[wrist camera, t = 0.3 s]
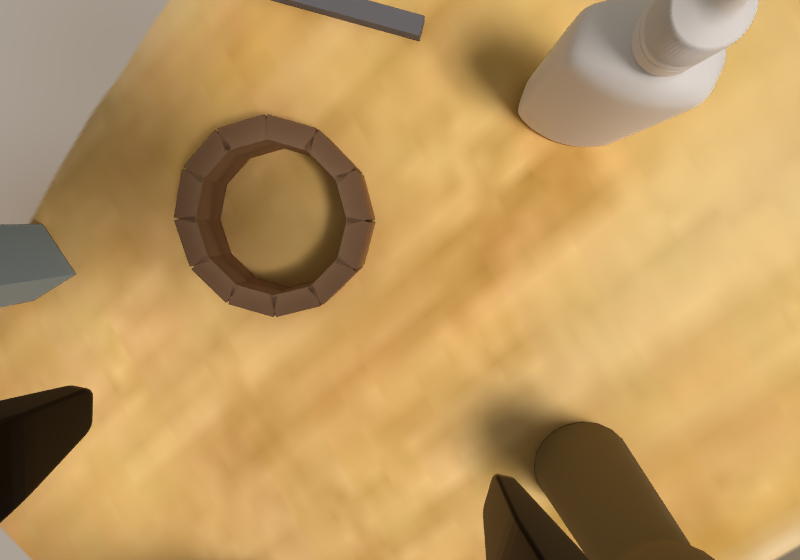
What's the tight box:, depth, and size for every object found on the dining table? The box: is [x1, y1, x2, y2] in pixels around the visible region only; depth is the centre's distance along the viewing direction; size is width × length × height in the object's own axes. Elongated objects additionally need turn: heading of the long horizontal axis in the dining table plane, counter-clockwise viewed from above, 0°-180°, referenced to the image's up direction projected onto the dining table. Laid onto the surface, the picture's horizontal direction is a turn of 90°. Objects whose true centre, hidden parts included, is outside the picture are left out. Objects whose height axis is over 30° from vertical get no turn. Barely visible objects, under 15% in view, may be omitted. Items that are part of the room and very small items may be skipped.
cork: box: [534, 422, 715, 560], centre depth 19 cm, size 6×6×11 cm
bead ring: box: [174, 115, 375, 317], centre depth 21 cm, size 10×10×2 cm
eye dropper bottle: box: [518, 0, 759, 147], centre depth 15 cm, size 4×6×12 cm
